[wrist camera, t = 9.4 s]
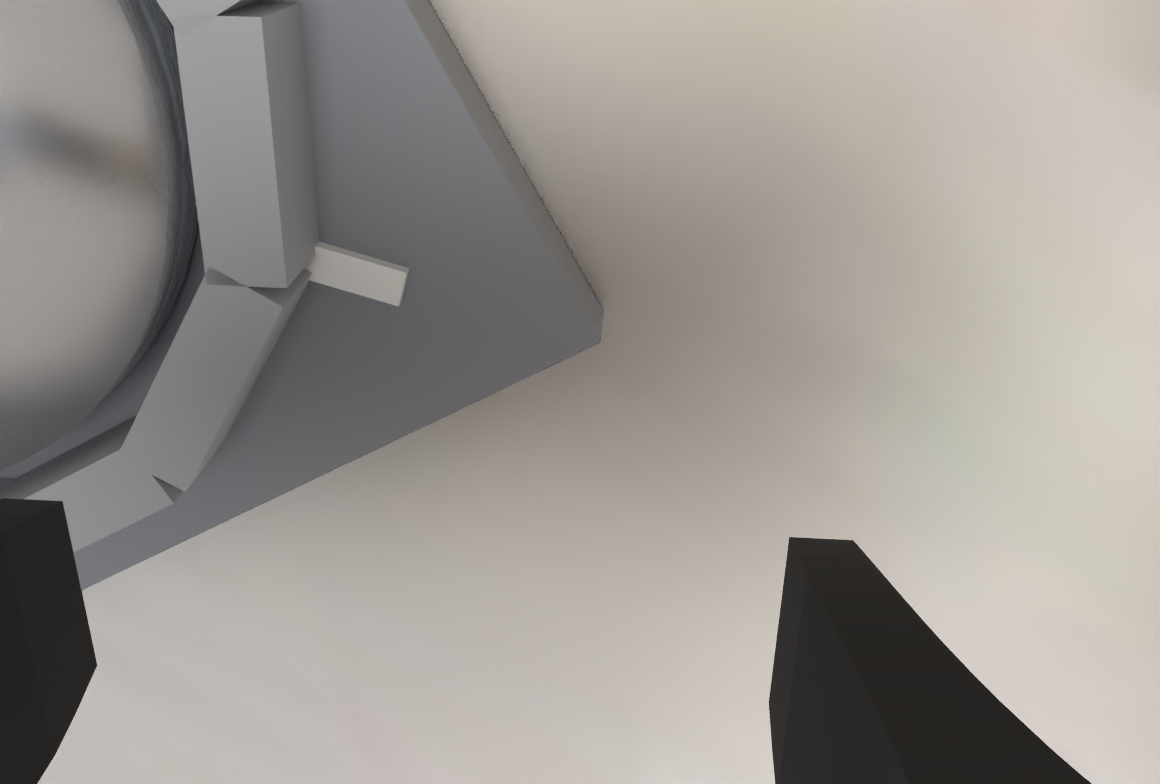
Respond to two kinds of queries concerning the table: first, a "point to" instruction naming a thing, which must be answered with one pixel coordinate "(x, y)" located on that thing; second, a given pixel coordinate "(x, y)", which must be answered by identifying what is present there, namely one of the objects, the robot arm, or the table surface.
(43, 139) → the dial
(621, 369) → the table surface
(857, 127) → the table surface
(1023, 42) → the table surface
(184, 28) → the dial plate
